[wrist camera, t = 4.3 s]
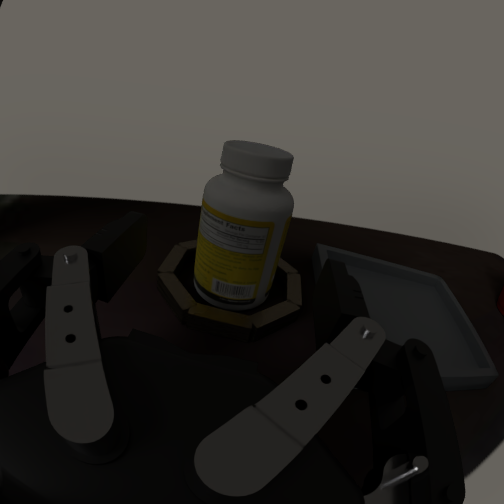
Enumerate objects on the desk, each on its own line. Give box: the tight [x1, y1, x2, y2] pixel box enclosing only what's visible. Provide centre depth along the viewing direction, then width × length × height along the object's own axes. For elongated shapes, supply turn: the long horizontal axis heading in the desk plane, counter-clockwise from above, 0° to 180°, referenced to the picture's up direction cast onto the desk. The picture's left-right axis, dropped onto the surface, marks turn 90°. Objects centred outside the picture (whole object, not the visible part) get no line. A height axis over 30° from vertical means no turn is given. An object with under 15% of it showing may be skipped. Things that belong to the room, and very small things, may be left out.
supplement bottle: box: [194, 140, 294, 311], centre depth 17 cm, size 5×5×10 cm
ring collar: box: [157, 240, 302, 342], centre depth 20 cm, size 10×10×1 cm
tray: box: [312, 243, 499, 391], centre depth 20 cm, size 15×14×2 cm
